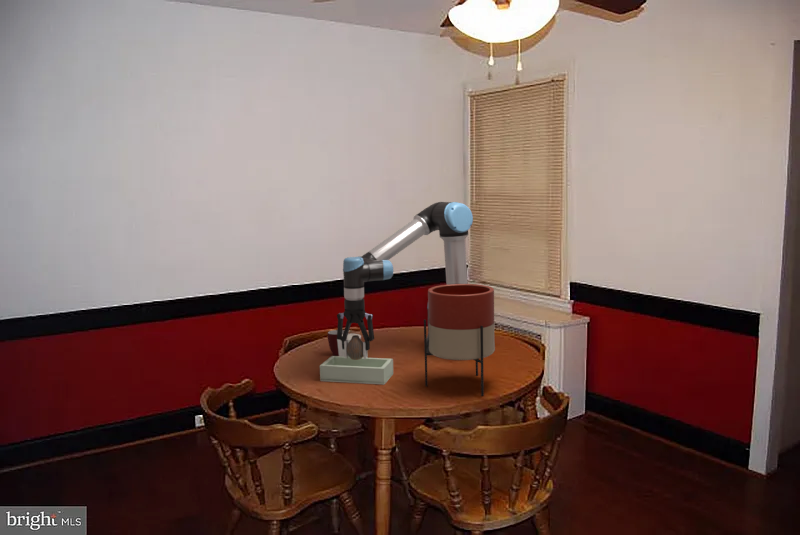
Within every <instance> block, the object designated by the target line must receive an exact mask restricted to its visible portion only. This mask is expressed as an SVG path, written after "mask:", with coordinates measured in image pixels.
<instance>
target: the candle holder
mask: <svg viewBox="0 0 800 535" xmlns="http://www.w3.org/2000/svg"><path fill="white" fill-rule="evenodd" d="M354 335H358V336H359V338H360V339H361V340H362V334H359V333H348V335H347V339H346V340H348V343H349V341H350V340H351V338H352V336H354ZM342 336H343V334H342ZM337 343H338V353H339V356H342V357H345V352H344V349H342V341H341V340H338V339H337Z"/></svg>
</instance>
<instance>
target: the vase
mask: <svg viewBox="0 0 800 535" xmlns="http://www.w3.org/2000/svg"><path fill="white" fill-rule="evenodd" d="M363 342H364V341H363V340H362V338H361V339H360V338H359V336H358V335H354V336H352V338H351V340H350V341H349V343H348V345H347V354H348V356H349V357H350V358H351V359H352V360H359V359H361V358H362V357H363Z"/></svg>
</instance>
